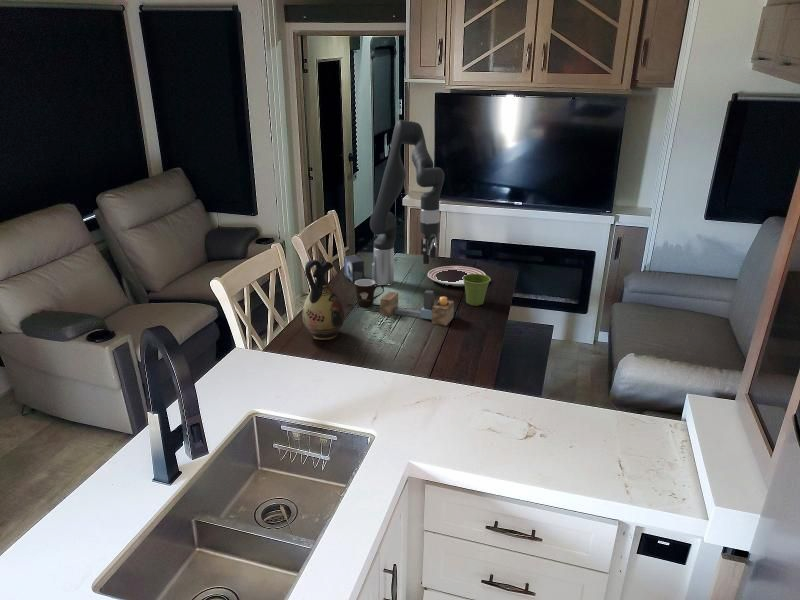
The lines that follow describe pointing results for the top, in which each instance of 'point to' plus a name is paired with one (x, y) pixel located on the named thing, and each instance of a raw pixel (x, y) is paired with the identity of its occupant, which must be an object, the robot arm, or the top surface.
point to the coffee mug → (366, 292)
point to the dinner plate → (467, 270)
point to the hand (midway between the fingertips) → (429, 260)
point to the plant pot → (475, 288)
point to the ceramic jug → (322, 304)
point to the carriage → (428, 304)
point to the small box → (353, 267)
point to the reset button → (443, 301)
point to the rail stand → (439, 313)
